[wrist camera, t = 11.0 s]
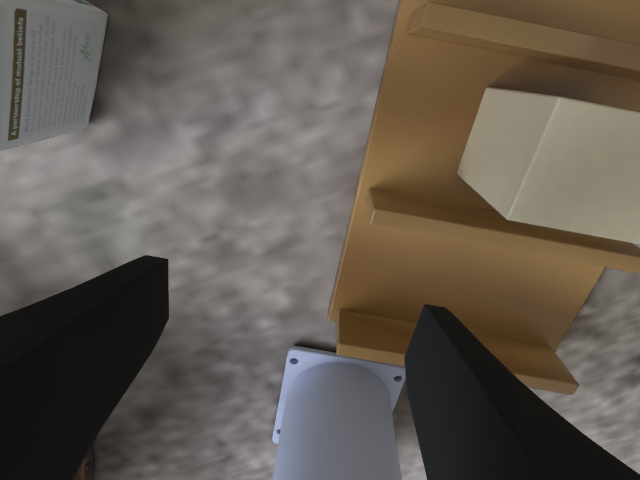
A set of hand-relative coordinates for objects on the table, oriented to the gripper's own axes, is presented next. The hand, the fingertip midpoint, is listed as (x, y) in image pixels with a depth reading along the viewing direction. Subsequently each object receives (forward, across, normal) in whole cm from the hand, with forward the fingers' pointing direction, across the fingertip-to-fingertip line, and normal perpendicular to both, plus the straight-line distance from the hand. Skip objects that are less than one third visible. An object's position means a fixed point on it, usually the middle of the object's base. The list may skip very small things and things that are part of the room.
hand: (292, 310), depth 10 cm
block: (+9, -9, -4) cm, 14 cm away
